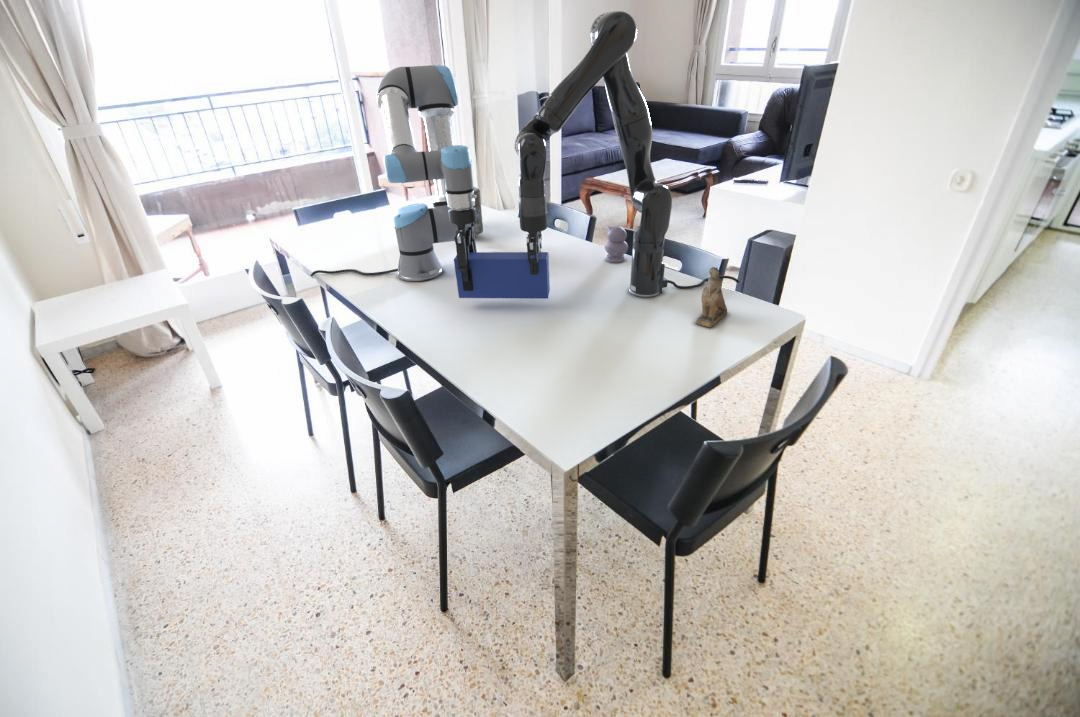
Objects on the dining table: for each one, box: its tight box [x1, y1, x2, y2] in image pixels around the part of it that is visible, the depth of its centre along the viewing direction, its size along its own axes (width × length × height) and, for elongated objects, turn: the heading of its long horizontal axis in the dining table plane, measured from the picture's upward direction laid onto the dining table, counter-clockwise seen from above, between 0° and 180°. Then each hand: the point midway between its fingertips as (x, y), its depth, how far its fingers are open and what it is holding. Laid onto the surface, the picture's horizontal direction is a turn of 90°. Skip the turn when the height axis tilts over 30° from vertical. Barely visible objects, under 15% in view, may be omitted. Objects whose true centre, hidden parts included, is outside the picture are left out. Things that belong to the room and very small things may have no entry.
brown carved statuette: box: [695, 266, 728, 328], centre depth 135 cm, size 12×6×18 cm, turn 136°
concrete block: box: [473, 186, 484, 236], centre depth 209 cm, size 27×9×20 cm, turn 36°
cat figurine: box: [604, 225, 629, 264], centre depth 178 cm, size 9×8×12 cm
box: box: [453, 251, 551, 300], centre depth 145 cm, size 27×6×12 cm, turn 84°
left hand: (470, 285), depth 148 cm, fingers closed on box, 6 cm apart
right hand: (535, 270), depth 143 cm, fingers closed on box, 6 cm apart
